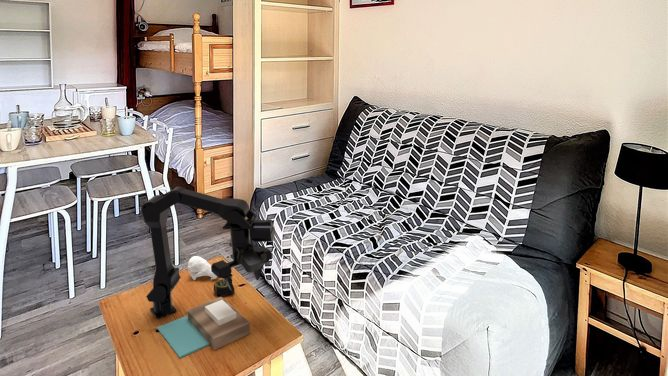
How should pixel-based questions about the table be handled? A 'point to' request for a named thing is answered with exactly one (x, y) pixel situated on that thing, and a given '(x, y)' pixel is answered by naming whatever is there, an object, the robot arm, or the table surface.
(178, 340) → the mat
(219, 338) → the brown flat block
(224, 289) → the tape measure
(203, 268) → the white rounded lumpy piece
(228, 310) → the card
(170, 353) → the table surface
